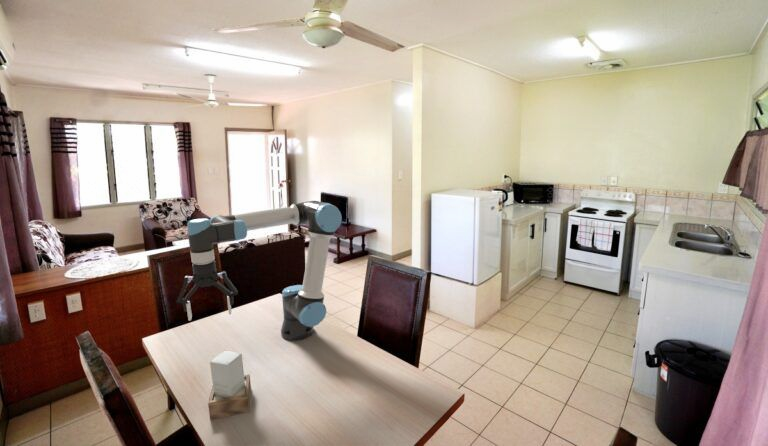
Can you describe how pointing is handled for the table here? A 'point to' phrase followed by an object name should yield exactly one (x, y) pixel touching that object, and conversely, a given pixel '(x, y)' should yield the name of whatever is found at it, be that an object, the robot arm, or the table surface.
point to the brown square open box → (230, 402)
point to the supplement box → (227, 374)
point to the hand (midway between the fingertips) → (210, 316)
